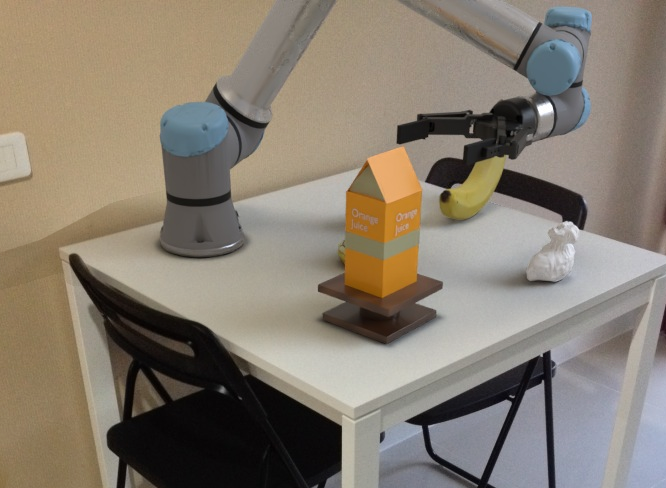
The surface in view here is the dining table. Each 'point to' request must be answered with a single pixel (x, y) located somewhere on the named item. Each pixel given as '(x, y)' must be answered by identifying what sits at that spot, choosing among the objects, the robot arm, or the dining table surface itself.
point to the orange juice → (383, 225)
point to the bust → (555, 254)
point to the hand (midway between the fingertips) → (430, 145)
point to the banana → (473, 189)
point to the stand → (380, 308)
